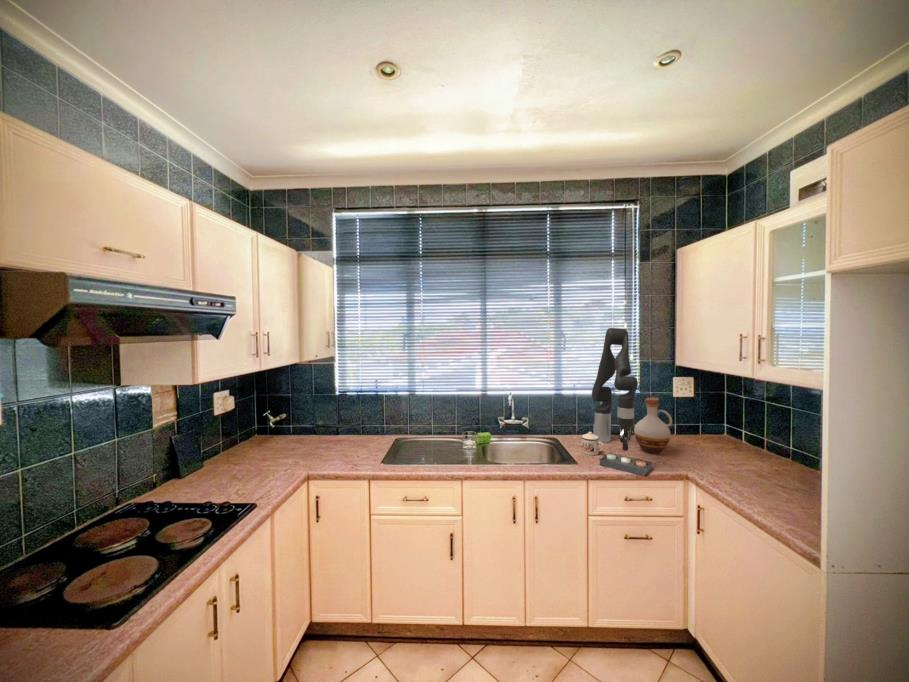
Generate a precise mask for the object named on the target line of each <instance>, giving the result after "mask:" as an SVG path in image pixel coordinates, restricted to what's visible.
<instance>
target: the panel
mask: <svg viewBox="0 0 909 682" xmlns="http://www.w3.org/2000/svg"><path fill="white" fill-rule="evenodd" d="M607 454H613V455H616V460H613V459H608V458H607ZM622 457H627V458H630V459H631V463H630V464H629V463H625V462H621V458H622ZM636 461H644V462H646V467H642V466H638V465H636ZM653 465H654V462H652V461H648V460H643V459H640V458H635V457H631V456H626V455H621V454H619V453H618V454H617V453H613V452H608V453H606V454H605V455H604V456H602V457H601V458H599V466H601V467H605V468H610V469H614V470H618V471H621V472H626V473H629V474H634V475H637V476H641V477H646V475H648V473H650V472H651V471H652V470H653V468H654V467H653Z"/></svg>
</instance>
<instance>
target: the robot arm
mask: <svg viewBox="0 0 909 682" xmlns="http://www.w3.org/2000/svg"><path fill="white" fill-rule="evenodd" d="M629 340H630V339H629V332H628V330H627V329H626V328H618V327H617V328H616V327H608V329H606V332H605V337H604V342H603V349H602V353H601V357H600V361H599V365H598V370H597V374H596V378H595V382H594V384H593V387H592V389H591V399H592V400H593V401H594V402H596V403H597V402H600V403H601V402H602V403H601V404H599V405H597V406H595V407H594V423H593V429H592V430H593V432H592V434H594V435H596V436H598V437H599V442H602V443H608V442H611V440H612V433H611V431H612V428H611V427H612V419H611V418H612V416H611V415H612V403H613V402H612V400H613V399H612V398H613V392H612V388H611V387H610V386H604V385H605V384H606V383H607V382H608V381H609V380H611V378H612V377H613V376H614V375H615V378H614V382H613V384H614V385H613V386H614V388H615V389H616V390H617V391H621V392H622V391H624V392H625V391H627V393H625V394H621V395H619V396H618V397H617V414H616V415H617V417H616V418H617V421H616V422H617V426H619V427H620V430H619V432H620V433H619V434H618V438H619V442H620V443H622V451H625V452H627V451H628V450H629V443H630V441H631V438H632V433H633V430H632V429H631V428H633V427H635V411H634V410H635V409H634V408H635V407H634V404H635V403H634V400H635V394H636V392H637V389H638V385H639V381H638V379H637V377H635V376H629V375H631V373H632V369H631V368H632V367H631V363H630V350H629V349H630V347H629V346H630V344H629ZM612 345H613V346H621V349H620V351H619V352H618V353H617V354H616V356H615V355H614V354H613V351H612V349H611V347H612Z"/></svg>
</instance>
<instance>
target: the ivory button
mask: <svg viewBox="0 0 909 682" xmlns="http://www.w3.org/2000/svg"><path fill="white" fill-rule="evenodd" d="M627 457H628V456H627ZM627 457H622V458H621V462H625V463H629V464H630V463H631V459H630V458H627Z"/></svg>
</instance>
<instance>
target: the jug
mask: <svg viewBox="0 0 909 682" xmlns="http://www.w3.org/2000/svg"><path fill="white" fill-rule="evenodd" d="M659 399H660V398H659V397H645V399H644V400H645V403H644V405H645V406H646V409H647V410H646V412H647V413H646V415H645V416H644V417H642V419H640V420H639V421H637V422H636V423H635V424H634V428H633V433H634V437H635V440H636V442H637V443H638V444H637V445H639V446H640V448H641V449H642V451H644V452H645V453H647V454H653V455H654V454H655V455H656V454H660V453H661V452H662V451H664V450H665V449H666V447H668V444H669V442H670V439H671V429H670V427H671V426H672V425H673V418H672V416H671V414H670V413H669V412H668V411H666V410H665V409H658V408H659V406H660V404H659ZM659 413H663V414H664V415H666V416H667V417H668V421H669V422H668V424H666V423H665V422H664V421H662V419H661V418H659V416H658V414H659Z"/></svg>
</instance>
